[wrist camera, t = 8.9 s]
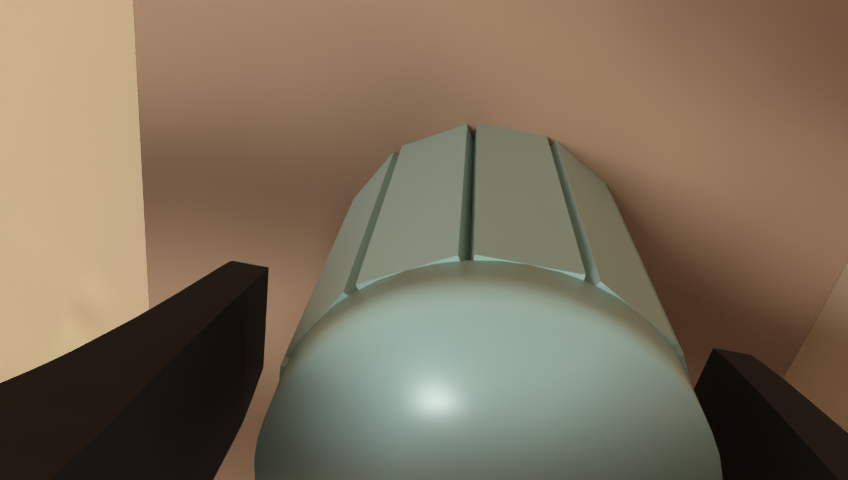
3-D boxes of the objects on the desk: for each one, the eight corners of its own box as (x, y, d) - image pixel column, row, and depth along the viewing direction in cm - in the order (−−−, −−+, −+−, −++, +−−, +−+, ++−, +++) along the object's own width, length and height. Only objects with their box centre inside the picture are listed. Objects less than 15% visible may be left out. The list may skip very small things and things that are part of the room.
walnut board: (645, 578, 19) (653, 612, 18) (175, 494, 19) (160, 523, 18) (1087, -268, 9) (1150, -287, 8) (143, -444, 9) (107, -480, 8)
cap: (577, 387, 14) (633, 668, 9) (333, 342, 14) (246, 598, 9) (661, 157, 12) (809, 364, 6) (362, 102, 12) (263, 263, 6)
